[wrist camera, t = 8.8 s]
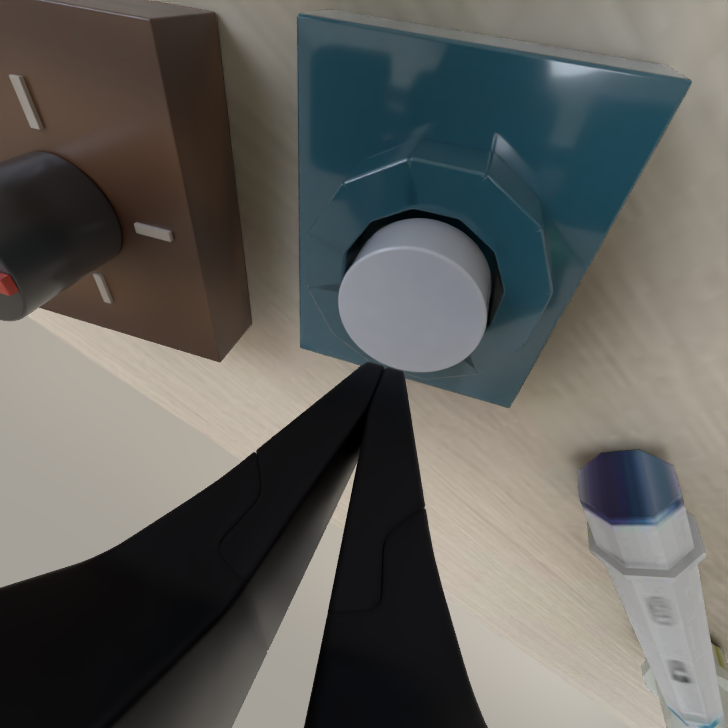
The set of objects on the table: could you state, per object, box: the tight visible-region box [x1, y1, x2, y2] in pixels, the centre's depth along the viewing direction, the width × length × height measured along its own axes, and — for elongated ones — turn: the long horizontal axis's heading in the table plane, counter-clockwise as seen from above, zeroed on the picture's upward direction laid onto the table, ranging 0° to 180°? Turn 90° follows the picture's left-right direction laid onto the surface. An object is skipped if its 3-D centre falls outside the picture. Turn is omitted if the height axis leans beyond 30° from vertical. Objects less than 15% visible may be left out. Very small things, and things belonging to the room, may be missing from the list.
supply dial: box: [0, 151, 122, 321], centre depth 13 cm, size 4×4×4 cm
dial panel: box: [0, 0, 252, 362], centre depth 16 cm, size 12×10×3 cm
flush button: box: [338, 218, 492, 372], centre depth 11 cm, size 4×4×2 cm
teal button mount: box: [297, 9, 692, 408], centre depth 13 cm, size 11×9×4 cm
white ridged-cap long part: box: [577, 450, 728, 728], centre depth 23 cm, size 5×7×25 cm
